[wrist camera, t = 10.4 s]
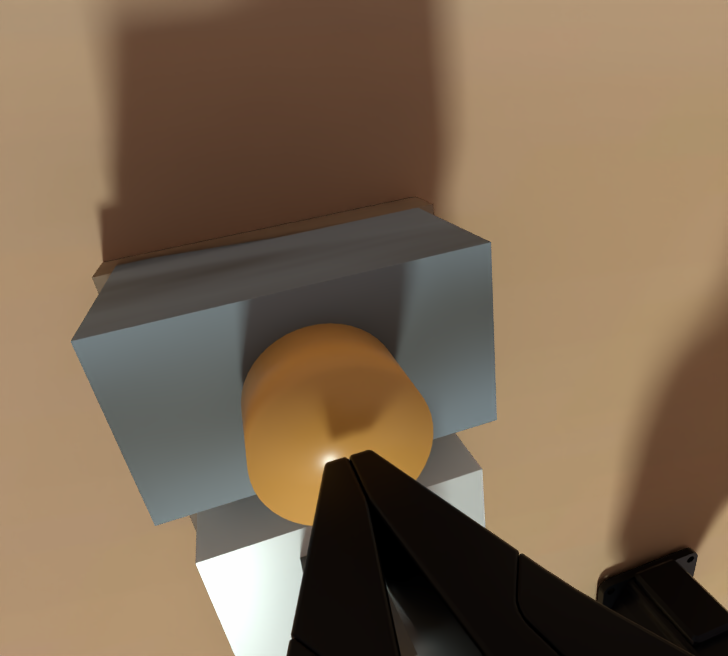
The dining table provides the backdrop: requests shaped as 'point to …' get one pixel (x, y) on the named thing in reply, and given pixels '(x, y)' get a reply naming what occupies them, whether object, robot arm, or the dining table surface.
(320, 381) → the button
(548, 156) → the dining table surface
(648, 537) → the dining table surface
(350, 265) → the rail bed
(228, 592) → the carriage
